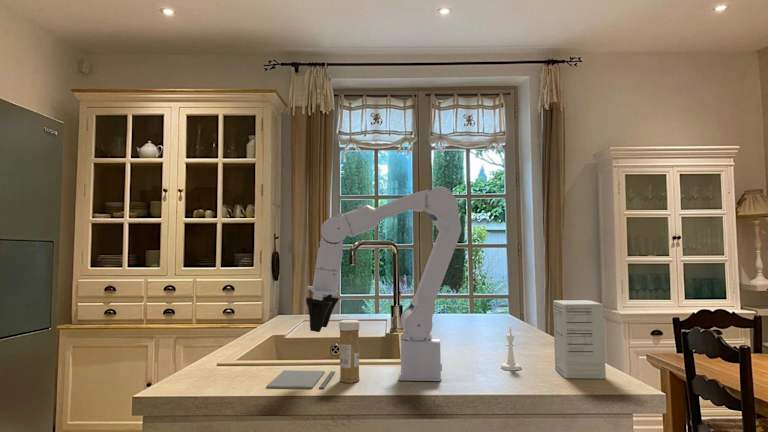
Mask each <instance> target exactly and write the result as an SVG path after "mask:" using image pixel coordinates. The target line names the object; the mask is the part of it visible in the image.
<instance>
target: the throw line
mask: <svg viewBox="0 0 768 432" xmlns="http://www.w3.org/2000/svg"><path fill="white" fill-rule="evenodd" d="M334 373H336V371H333V370H332V371H331V370H330V372H329V374H328V375H327V376H326V378H325V379H324V381H323V382H322V383H321V385H320V386H319V387H318V389H319V390H324V389H326V387H327V385H328V384H329V383H330V381H331V379H332V378H333V377H334V375H335V374H334ZM332 376H333V377H332Z"/></svg>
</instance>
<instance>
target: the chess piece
mask: <svg viewBox="0 0 768 432" xmlns="http://www.w3.org/2000/svg"><path fill="white" fill-rule="evenodd" d="M508 331H509V333H507V334H506V336H505V337H506V339H507V343H506V345H505V346H507V347H508V353H507V359H506V360H505V362H503V363H501V365H500V368H501V370H505V371H520V370H521V369H522V365H521V364H520V363H517V362H516V360H515V357H514V348H513V347H515V346H516V344H515V343H513V342H514V338H515V334H513V333H512V327H511V326H509V329H508Z"/></svg>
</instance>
